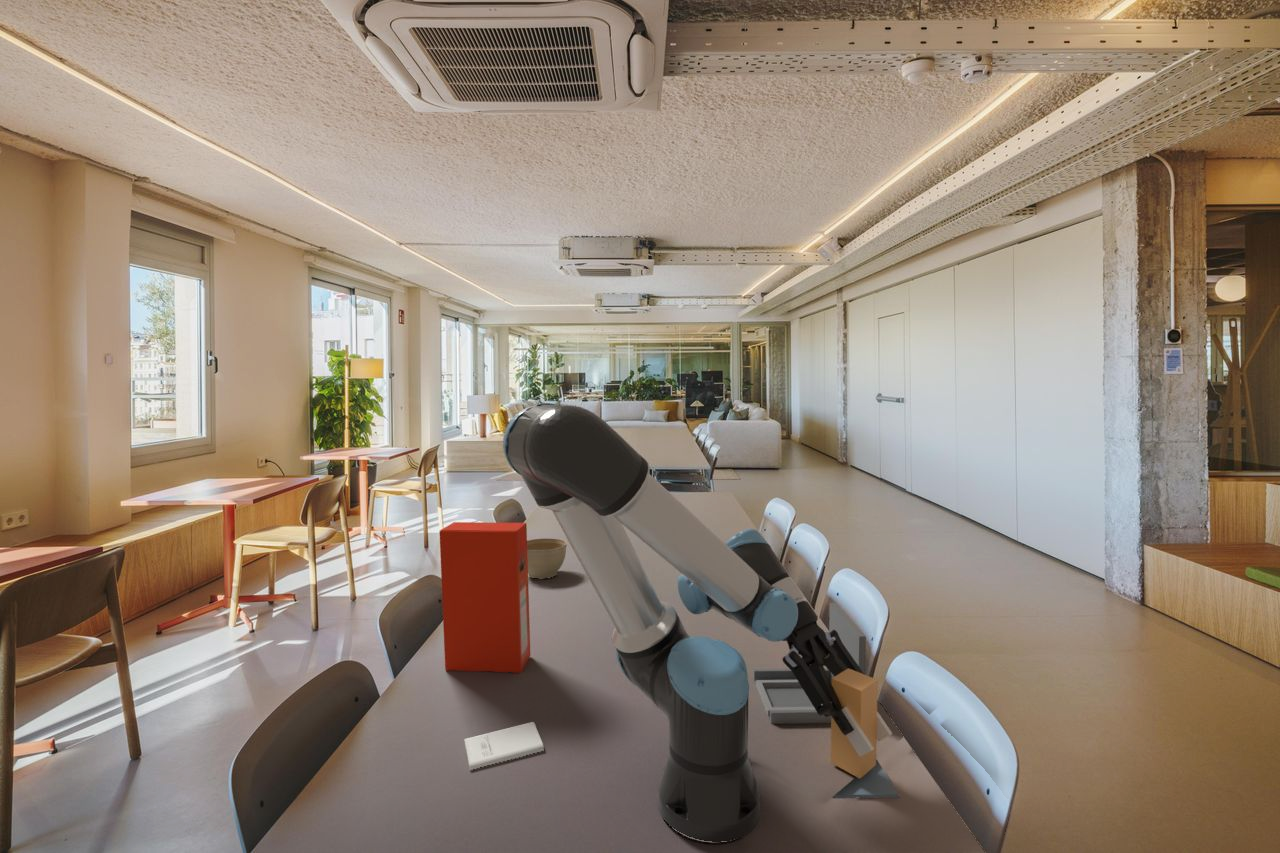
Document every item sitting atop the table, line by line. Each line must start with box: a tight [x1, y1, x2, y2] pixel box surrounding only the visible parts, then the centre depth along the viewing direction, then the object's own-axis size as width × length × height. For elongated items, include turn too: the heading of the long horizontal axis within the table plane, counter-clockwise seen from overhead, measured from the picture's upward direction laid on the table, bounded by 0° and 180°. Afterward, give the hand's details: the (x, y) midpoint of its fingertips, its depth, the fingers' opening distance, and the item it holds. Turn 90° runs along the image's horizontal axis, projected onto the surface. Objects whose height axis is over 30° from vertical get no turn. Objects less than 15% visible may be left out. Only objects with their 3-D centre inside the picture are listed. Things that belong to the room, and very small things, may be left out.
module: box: [830, 668, 878, 778], centre depth 91 cm, size 5×5×14 cm
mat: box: [832, 758, 900, 799], centre depth 91 cm, size 10×10×1 cm
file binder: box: [439, 521, 531, 674], centre depth 129 cm, size 8×17×32 cm, turn 85°
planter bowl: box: [527, 537, 568, 579], centre depth 192 cm, size 16×16×11 cm
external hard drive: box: [463, 721, 545, 771], centre depth 100 cm, size 2×8×12 cm
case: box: [753, 602, 867, 725], centre depth 111 cm, size 18×16×18 cm
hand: (876, 744), depth 88 cm, fingers closed on module, 5 cm apart
